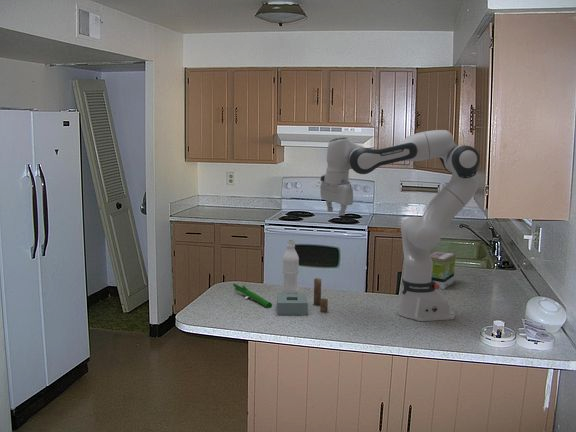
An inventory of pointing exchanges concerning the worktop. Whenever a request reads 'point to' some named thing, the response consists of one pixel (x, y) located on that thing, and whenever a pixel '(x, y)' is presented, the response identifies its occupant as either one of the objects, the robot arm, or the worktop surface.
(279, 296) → the hole block
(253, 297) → the green onion
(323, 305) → the short peg
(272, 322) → the worktop surface
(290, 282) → the water bottle
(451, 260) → the tea box
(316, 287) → the long peg
